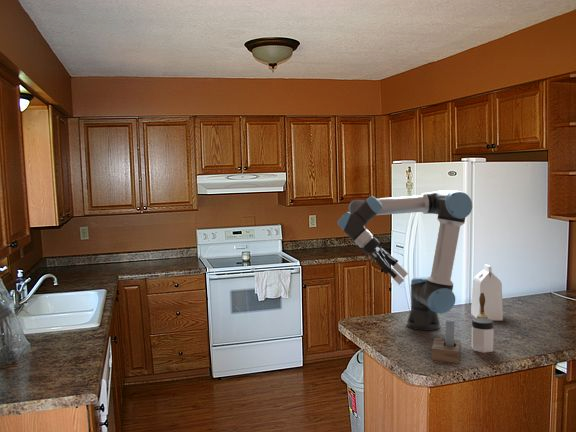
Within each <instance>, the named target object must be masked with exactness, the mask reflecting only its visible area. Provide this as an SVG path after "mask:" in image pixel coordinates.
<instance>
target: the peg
mask: <svg viewBox="0 0 576 432" xmlns="http://www.w3.org/2000/svg"><path fill="white" fill-rule="evenodd" d="M445 339H446V341H445V346H450V347H454V340H455V320H453V319H447V320H445Z"/></svg>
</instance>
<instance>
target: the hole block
mask: <svg viewBox="0 0 576 432" xmlns="http://www.w3.org/2000/svg"><path fill="white" fill-rule="evenodd" d="M445 341H446V338H443V337H442V338H441V337H434V340H433V343H432V347H431V361H438V362H447V363H456V364H457V363H458V364H459V363H460V356H461V339H454V347H450V346H445Z"/></svg>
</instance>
